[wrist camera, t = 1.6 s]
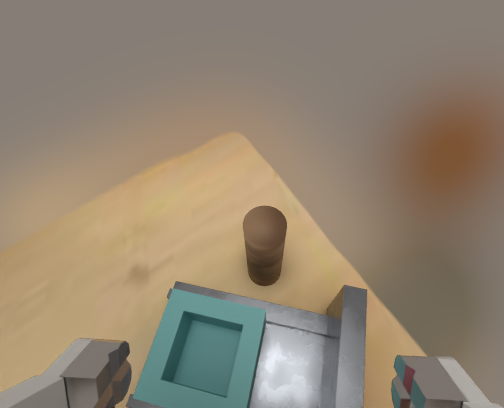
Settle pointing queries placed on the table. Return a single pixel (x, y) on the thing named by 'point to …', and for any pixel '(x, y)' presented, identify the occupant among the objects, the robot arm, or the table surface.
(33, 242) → the table surface
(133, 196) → the table surface
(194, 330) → the socket block
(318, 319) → the track
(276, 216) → the dowel
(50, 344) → the table surface
